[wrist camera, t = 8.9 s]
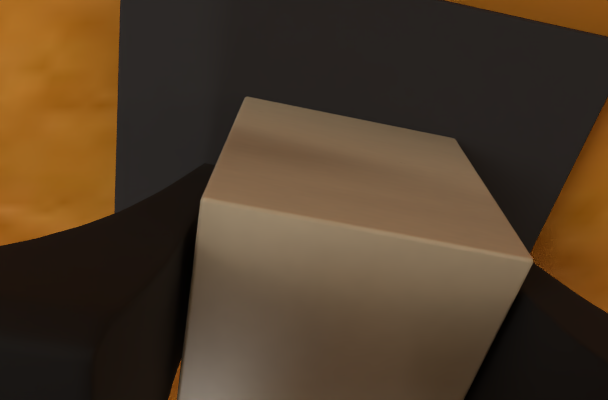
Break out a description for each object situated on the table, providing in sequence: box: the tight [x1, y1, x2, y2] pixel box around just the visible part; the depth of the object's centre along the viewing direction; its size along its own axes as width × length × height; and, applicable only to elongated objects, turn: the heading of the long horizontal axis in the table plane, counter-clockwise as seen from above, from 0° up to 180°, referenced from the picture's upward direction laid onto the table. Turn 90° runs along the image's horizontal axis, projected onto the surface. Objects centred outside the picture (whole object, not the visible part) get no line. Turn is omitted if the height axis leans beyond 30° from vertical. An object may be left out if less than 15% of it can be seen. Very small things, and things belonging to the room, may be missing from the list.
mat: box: [115, 0, 608, 254], centre depth 12 cm, size 10×10×1 cm
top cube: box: [177, 97, 533, 400], centre depth 10 cm, size 5×5×5 cm
